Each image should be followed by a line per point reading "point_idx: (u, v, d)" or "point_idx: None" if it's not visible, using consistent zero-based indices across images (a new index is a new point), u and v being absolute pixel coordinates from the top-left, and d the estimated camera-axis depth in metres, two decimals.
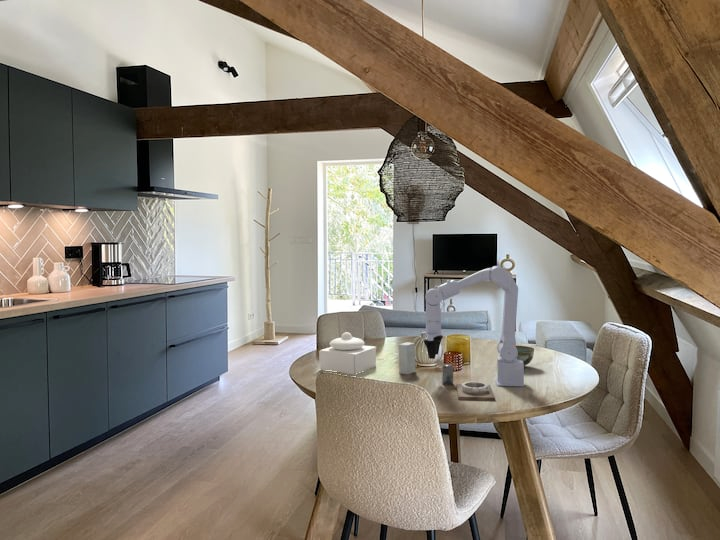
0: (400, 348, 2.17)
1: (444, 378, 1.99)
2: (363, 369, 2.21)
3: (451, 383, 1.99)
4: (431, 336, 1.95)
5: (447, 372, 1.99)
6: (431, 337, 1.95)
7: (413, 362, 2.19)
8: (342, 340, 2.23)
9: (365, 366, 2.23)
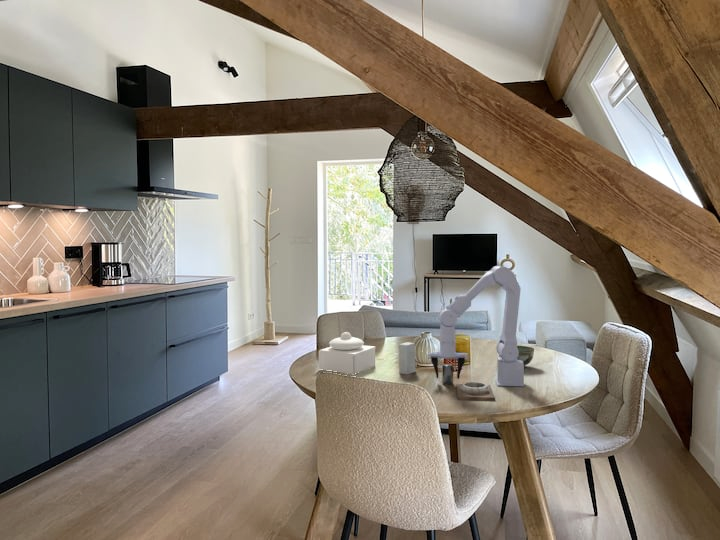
0: (400, 348, 2.17)
1: (444, 378, 1.99)
2: (362, 369, 2.22)
3: (451, 383, 1.99)
4: (428, 354, 2.01)
5: (447, 372, 1.99)
6: (428, 355, 2.01)
7: (413, 362, 2.19)
8: (341, 340, 2.23)
9: (364, 366, 2.23)
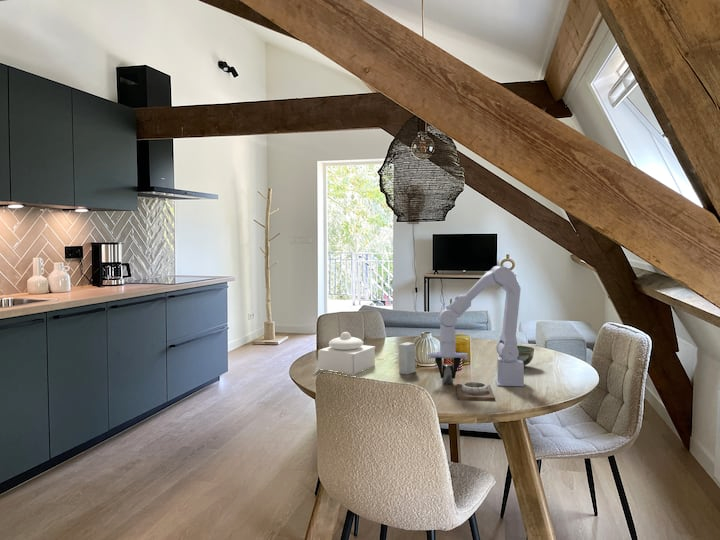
0: (400, 348, 2.17)
1: (444, 378, 1.99)
2: (362, 369, 2.22)
3: (451, 383, 1.99)
4: (428, 354, 2.01)
5: (447, 372, 1.99)
6: (428, 355, 2.01)
7: (413, 362, 2.19)
8: (341, 340, 2.23)
9: (364, 366, 2.24)
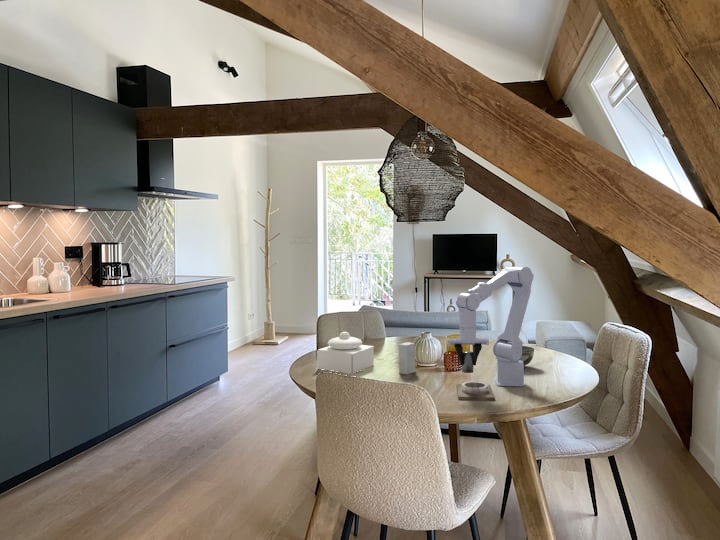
0: (400, 348, 2.17)
1: (465, 366, 1.89)
2: (361, 368, 2.23)
3: (472, 371, 1.90)
4: (447, 340, 1.90)
5: (468, 359, 1.89)
6: (447, 341, 1.90)
7: (413, 362, 2.19)
8: (340, 339, 2.24)
9: (363, 365, 2.24)
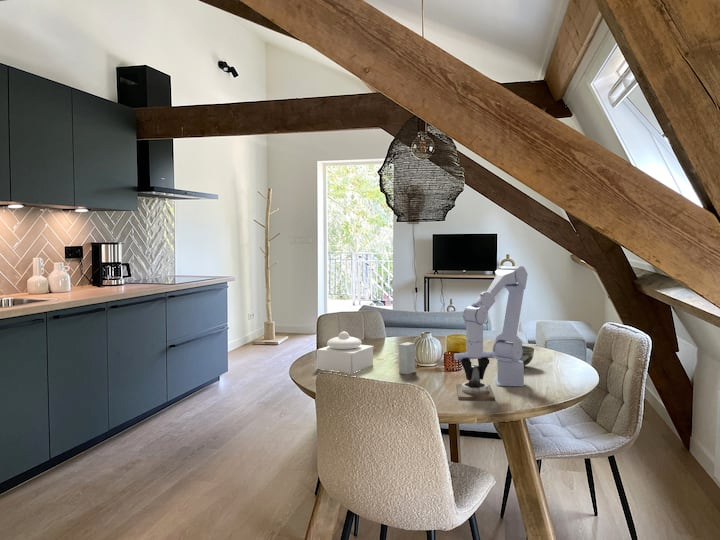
0: (400, 348, 2.17)
1: (473, 380, 1.86)
2: (360, 368, 2.23)
3: (479, 385, 1.87)
4: (455, 355, 1.86)
5: (476, 374, 1.86)
6: (455, 356, 1.86)
7: (413, 362, 2.19)
8: (339, 339, 2.24)
9: (362, 365, 2.25)
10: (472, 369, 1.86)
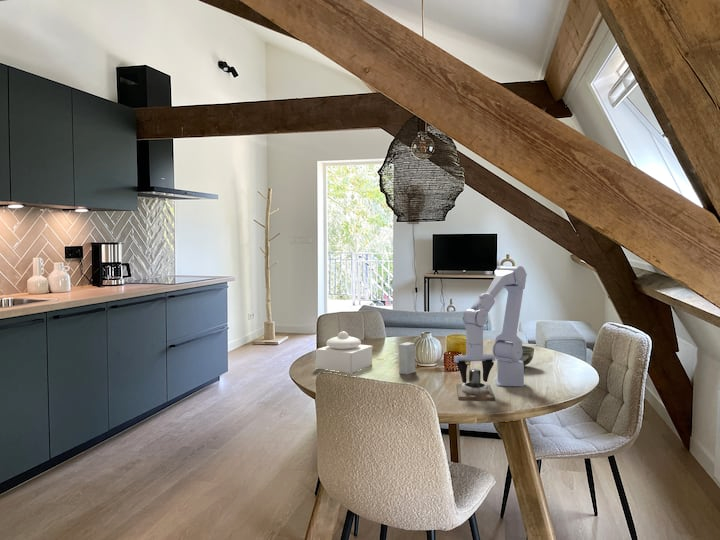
0: (400, 348, 2.17)
1: (473, 384, 1.86)
2: (359, 368, 2.24)
3: None
4: (455, 358, 1.86)
5: (476, 378, 1.86)
6: (455, 359, 1.86)
7: (413, 362, 2.19)
8: (338, 339, 2.25)
9: (361, 365, 2.25)
10: (472, 373, 1.86)
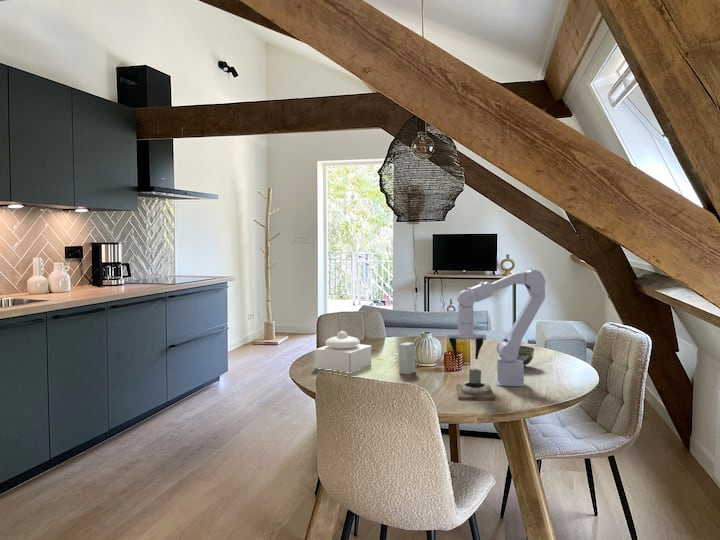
0: (400, 348, 2.17)
1: (473, 384, 1.86)
2: (358, 367, 2.24)
3: None
4: (446, 335, 2.00)
5: (476, 378, 1.86)
6: None
7: (413, 362, 2.19)
8: (338, 339, 2.26)
9: (360, 364, 2.26)
10: (473, 373, 1.86)
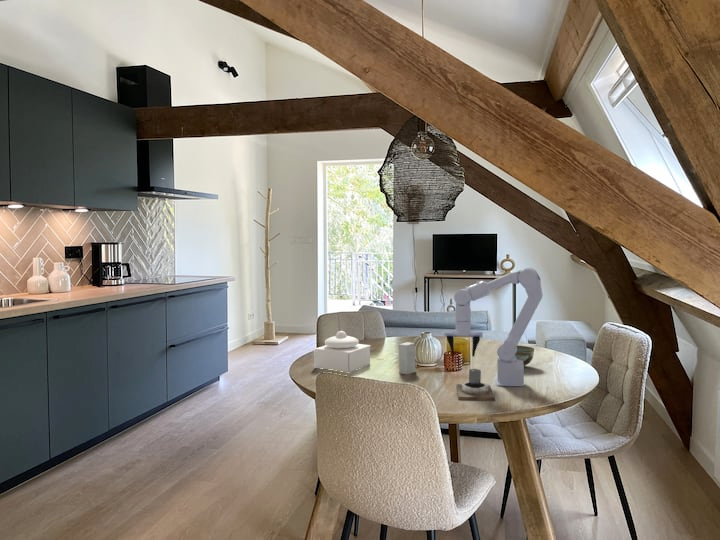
0: (400, 348, 2.17)
1: (472, 384, 1.86)
2: (357, 367, 2.25)
3: None
4: (444, 332, 2.06)
5: (476, 378, 1.85)
6: (444, 333, 2.06)
7: (413, 362, 2.19)
8: (337, 339, 2.26)
9: (359, 364, 2.26)
10: (472, 373, 1.86)
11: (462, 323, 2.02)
